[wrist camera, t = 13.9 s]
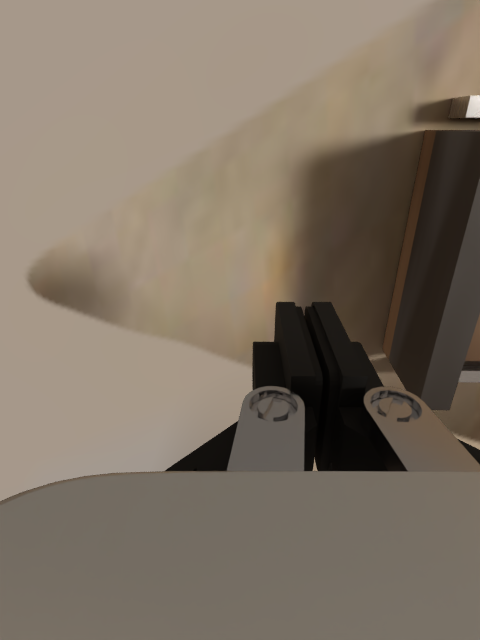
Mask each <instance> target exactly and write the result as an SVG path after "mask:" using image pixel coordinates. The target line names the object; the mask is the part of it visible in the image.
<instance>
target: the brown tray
mask: <svg viewBox="0 0 480 640" xmlns="http://www.w3.org/2000/svg"><path fill="white" fill-rule="evenodd" d="M382 349H383V351H384V353H385V354H386V356H387V358H388V360H389V361H390V363H391V365H392V366H393V368H394V370H395V372H396V373H397V375H398V377H399V378H400V380H401V382H402V384H403V385H404V387H405V389H406V390H407V391H409V392H411V393H412V394H414V395H416V396H418V397H419V398H420V399H421V400H422V401H423V402H425V404H426V405H427V406H428V407H429V408H430V409H431V410H449V409H450V406H451V403H452V400H453V397H454V394H455V390H456V387H457V384H458V381H459V378H460V375H461V371H462V368H463V365H464V362H465V361H480V130H425V134H424V139H423V144H422V149H421V154H420V160H419V165H418V170H417V175H416V180H415V185H414V190H413V195H412V200H411V205H410V211H409V216H408V221H407V226H406V231H405V236H404V241H403V246H402V251H401V256H400V262H399V267H398V272H397V277H396V282H395V287H394V292H393V297H392V302H391V307H390V313H389V318H388V323H387V328H386V333H385V338H384V343H383V348H382Z"/></svg>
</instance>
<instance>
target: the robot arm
mask: <svg viewBox="0 0 480 640" xmlns="http://www.w3.org/2000/svg"><path fill="white" fill-rule="evenodd" d="M314 457H315V462H316V466H317V470H318V471H312V470H313V464H314ZM0 640H480V450H479V449H477V448H475V447H473V446H471V445H469V444H467V443H465V442H463V441H460V440H459V439H457V438H456V437H455V436H454V435H453V434H452V433H451V432H450V431H449V429H448V428H447V427H446V426H445V425H444V424H443V423H442V422H441V420H440V419H439V418H438V417H437V416H436V415H435V414H434V413H433V411H432V410H431V409H430V408H429V407H428V406H427V405H426V404H425V402H423V401H422V400H421V399H420V398H419V397H418V396H416V395H414V394H412V393H411V392H409V391H406V390H403V389H400V388H395V387H384V386H383V384H382V382H381V380H380V379H379V377H378V375H377V373H376V371H375V369H374V367H373V366H372V364H371V362H370V360H369V358H368V356H367V354H366V353H365V351H364V349H363V347H362V345H361V344H360V343H359V342H351V341H350V339H349V337H348V335H347V333H346V331H345V329H344V327H343V325H342V323H341V321H340V319H339V317H338V315H337V313H336V311H335V309H334V307H333V305H332V303H331V302H313V303H312V305H311V307H306V308H305V316H304V314H303V311H302V308H301V307H296V306H295V303H294V302H277V303H276V315H275V337H274V342H253V391H251V392H250V393H249V394H247V395H246V397H245V399H244V401H243V404H242V408H241V412H240V416H239V421H237V422H236V423H234V424H233V425H231V426H230V427H228V428H227V429H226V430H224V431H223V432H221V433H220V434H218V435H217V436H216V437H214V438H212V439H211V440H209V441H208V442H206V443H205V444H203V445H202V446H200V447H199V448H198V449H196V450H195V451H193V452H192V453H191V454H189V455H187V456H186V457H184V458H183V459H181V460H180V461H178V462H177V463H175V464H174V465H172V466H171V467H170V468H168V469H167V470H166V471H163V472H131V473H110V474H100V475H92V476H84V477H79V478H73V479H68V480H63V481H58V482H54V483H50V484H47V485H44V486H41V487H37V488H34V489H31V490H28V491H25V492H22V493H19V494H17V495H14V496H12V497H9V498H7V499H5V500H2V501H0Z"/></svg>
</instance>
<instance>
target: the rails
mask: <svg viewBox="0 0 480 640" xmlns="http://www.w3.org/2000/svg"><path fill="white" fill-rule="evenodd" d="M449 118H480V96H465V97H458V98H453V99H452V104H451V109H450V113H449ZM458 382H480V361H465V362H464V365H463V368H462V371H461V375H460V378H459V381H458Z"/></svg>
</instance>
